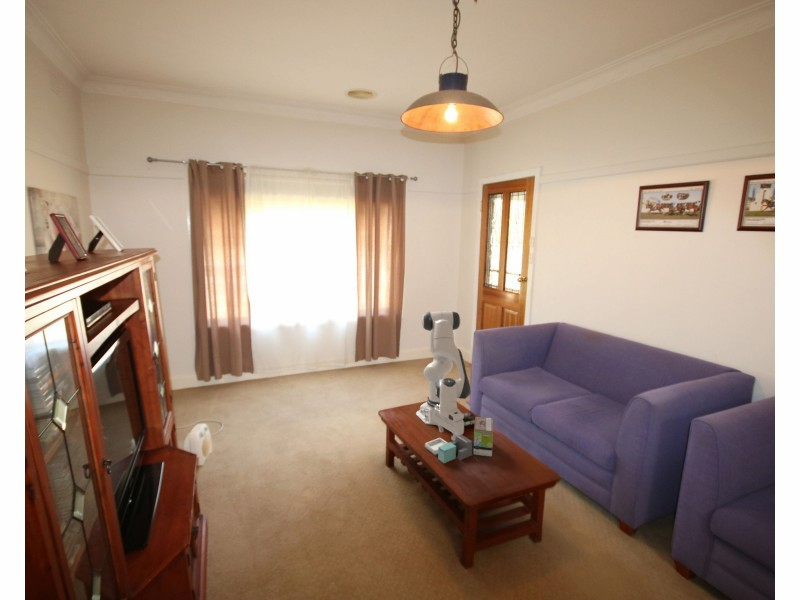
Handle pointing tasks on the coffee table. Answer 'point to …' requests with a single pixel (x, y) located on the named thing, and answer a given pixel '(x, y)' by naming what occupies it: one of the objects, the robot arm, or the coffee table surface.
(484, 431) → the tea box
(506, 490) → the coffee table surface
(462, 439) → the block
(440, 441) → the tray
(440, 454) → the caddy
